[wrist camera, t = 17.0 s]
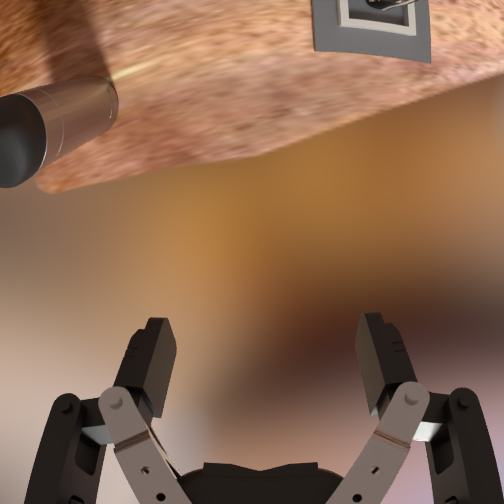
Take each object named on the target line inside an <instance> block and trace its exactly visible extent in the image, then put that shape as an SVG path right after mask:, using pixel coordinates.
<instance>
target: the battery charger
mask: <svg viewBox="0 0 504 504" xmlns="http://www.w3.org/2000/svg"><path fill="white" fill-rule="evenodd" d="M416 1H418V0H366V3H367V4H368V5H369V6H370V7H372V8H375V9H381V10H383V11H384V10H389V9H392V8H394V7H398V6H403V5H407V4H410V3H413V2H416Z"/></svg>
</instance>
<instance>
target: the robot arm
mask: <svg viewBox="0 0 504 504" xmlns="http://www.w3.org/2000/svg"><path fill="white" fill-rule="evenodd" d="M117 112H118V99H117V95H116V92H115V90H114V88H113V87H112V86H111V84H110V83H109V82H107V81H106V80H105V79H103V78H100V77H95V76H91V77H84V78H78V79H72V80H67V81H62V82H57V83H53V84H48V85H44V86H40V87H36V88H32V89H28V90H25V91H21V92H17V93H14V94H10V95H7V96H3V97H0V187H1V188H11V187H15V186H18V185H19V184H21V183H23V182H24V181H26V180H27V179H29V178H30V177H32V176H33V175H35V174H36V173H38V172H39V171H41V170H42V169H44V168H45V167H47V166H48V165H50V164H51V163H53V162H55V161H56V160H58V159H59V158H61V157H63V156H64V155H66V154H68V153H69V152H71V151H73V150H74V149H76V148H78V147H80V146H81V145H83V144H85V143H87V142H89V141H90V140H92V139H94V138H96V137H98V136H100V135H102V134H103V133H105V132H106V131H107V130H108V129H109V128H110V127H111V126H112V125H113V123H114V121H115V119H116V116H117ZM355 346H356V353H357V357H358V362H359V366H360V370H361V375H362V379H363V383H364V388H365V392H366V397H367V402H368V407H369V412H370V416H372V415H378V416H379V420H380V422H379V424H378V426H377V427H376V429H375V431H374V432H373V434H372V436H371V437H370V439H369V441H368V442H367V444H366V446H365V447H364V449H363V450H362V452H361V453H360V455H359V457H358V458H357V460H356V461H355V463H354V464H353V466H352V467H351V469H350V470H349V472H348V473H347V475H346V476H345V477H344V478H343V477H342V476H340V475H338V474H336V473H334V472H332V471H329V470H326V469H321V468H318V463H317V462H314V463H300V464H299V463H298V464H287V465H284V466H280V467H276V468H272V469H267V470H263V471H257V470H252V469H248V468H245V467H240V466H237V465H233V464H220V463H204V467H203V469H198V470H194V471H191V472H189V473H187V474H185V475H183V476H182V475H181V473H180V472H179V470H178V469H177V467H176V466H175V464H174V463H173V462H172V460H171V459H170V457H169V455H168V454H167V452H166V451H165V449H164V447H163V445H162V444H161V442H160V440H159V438H158V437H157V435H156V433H155V431H154V430H153V428H152V426H151V422H152V418H153V417H157V418H161V416H162V412H163V408H164V403H165V399H166V394H167V390H168V386H169V382H170V378H171V373H172V369H173V365H174V361H175V357H176V349H177V348H176V341H175V338H174V335H173V332H172V329H171V326H170V323H169V320H168V318H152V317H151V318H149V319H148V322H147V324H146V327H145V329H139V330H138V331H137V332H136V333H135V334H134V335H133V336H132V337H131V339H130V342H129V345H128V347H127V350H126V352H125V357H124V358H123V360H122V363H121V365H120V368H119V371H118V374H117V376H116V379H115V382H114V385H113V387H111V388H108V389H107V390H105V391H104V392H103V393H102V394H101V396H100V397H98V398H93V399H86V400H80V399H79V398H78V397H77V396H76V395H74V394H71V393H66V394H63V395H61V396H59V397H58V398H57V399H56V400H55V401H54V403H53V406H52V408H51V411H50V414H49V417H48V420H47V423H46V426H45V429H44V432H43V435H42V438H41V442H40V445H39V448H38V451H37V455H36V458H35V462H34V465H33V469H32V473H31V476H30V480H29V484H28V488H27V493H26V497H25V501H24V504H96V498H97V492H98V487H99V481H100V476H101V470H102V466H103V461H104V456H105V451H106V446H107V444H110V443H114V445H115V448H114V453H115V455H116V458H117V460H118V462H119V464H120V466H121V468H122V470H123V472H124V475H125V477H126V479H127V480H128V482H129V484H130V486H131V488H132V490H133V492H134V494H135V496H136V498H137V499H138V501H139V503H140V504H380V503H381V501H382V500H383V498H384V496H385V495H386V493H387V491H388V490H389V488H390V486H391V485H392V483H393V481H394V479H395V477H396V476H397V474H398V472H399V470H400V468H401V467H402V465H403V463H404V461H405V459H406V457H407V455H408V453H409V451H410V448H411V447H410V444H411V442H412V440H418V441H425V445H426V451H427V457H428V463H429V470H430V476H431V483H432V490H433V499H434V504H504V498H503V492H502V487H501V482H500V477H499V472H498V468H497V463H496V459H495V455H494V451H493V447H492V443H491V439H490V436H489V432H488V429H487V426H486V422H485V419H484V415H483V412H482V409H481V406H480V403H479V400H478V397H477V395H476V394H475V393H474V392H473V391H472V390H470V389H468V388H457V389H455V390H454V391H453V392H452V393H451V394H450V395H446V394H438V393H432V392H429V391H427V389H426V388H425V387H424V386H423V385H421V384H420V383H418V381H417V379H416V376H415V373H414V370H413V367H412V364H411V361H410V359H409V356H408V353H407V351H406V348H405V345H404V343H403V340H402V337H401V335H400V332H399V331H398V329H397V328H396V327H395V326H394V325H393V324H392V323H387V324H384V321H383V318H382V315H381V313H380V312H369V313H362V314H361V317H360V322H359V326H358V330H357V335H356V341H355Z"/></svg>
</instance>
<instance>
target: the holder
mask: <svg viewBox="0 0 504 504" xmlns="http://www.w3.org/2000/svg"><path fill="white" fill-rule="evenodd" d="M311 3H312V16H313V32H314V50H315V51H321V52H342V53H356V54H367V55H376V56H385V57H392V58H399V59H406V60H412V61H418V62H424V63H431V35H430V17H429V4H428V0H418V1H416V2H413V3H410V4H407V5H403V6H398V7H394V8H392V9H389V10H384V11H383V10H381V9H375V8H372V7H370V6H369V5H368V4H367V3H366V0H311Z"/></svg>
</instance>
